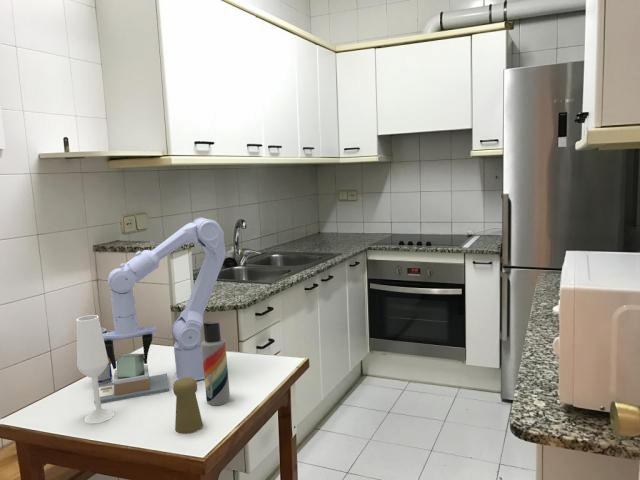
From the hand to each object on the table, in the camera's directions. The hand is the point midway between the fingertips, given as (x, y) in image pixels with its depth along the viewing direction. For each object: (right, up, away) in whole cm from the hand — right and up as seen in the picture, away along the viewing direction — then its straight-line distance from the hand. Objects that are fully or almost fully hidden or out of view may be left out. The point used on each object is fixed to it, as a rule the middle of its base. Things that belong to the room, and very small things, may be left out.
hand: (130, 365), depth 141 cm
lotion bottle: (+25, -7, -9) cm, 27 cm away
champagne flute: (-2, -9, -14) cm, 17 cm away
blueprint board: (0, -7, +1) cm, 7 cm away
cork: (+21, -9, -22) cm, 31 cm away
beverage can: (-10, -7, +7) cm, 14 cm away
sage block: (0, -3, 0) cm, 3 cm away
